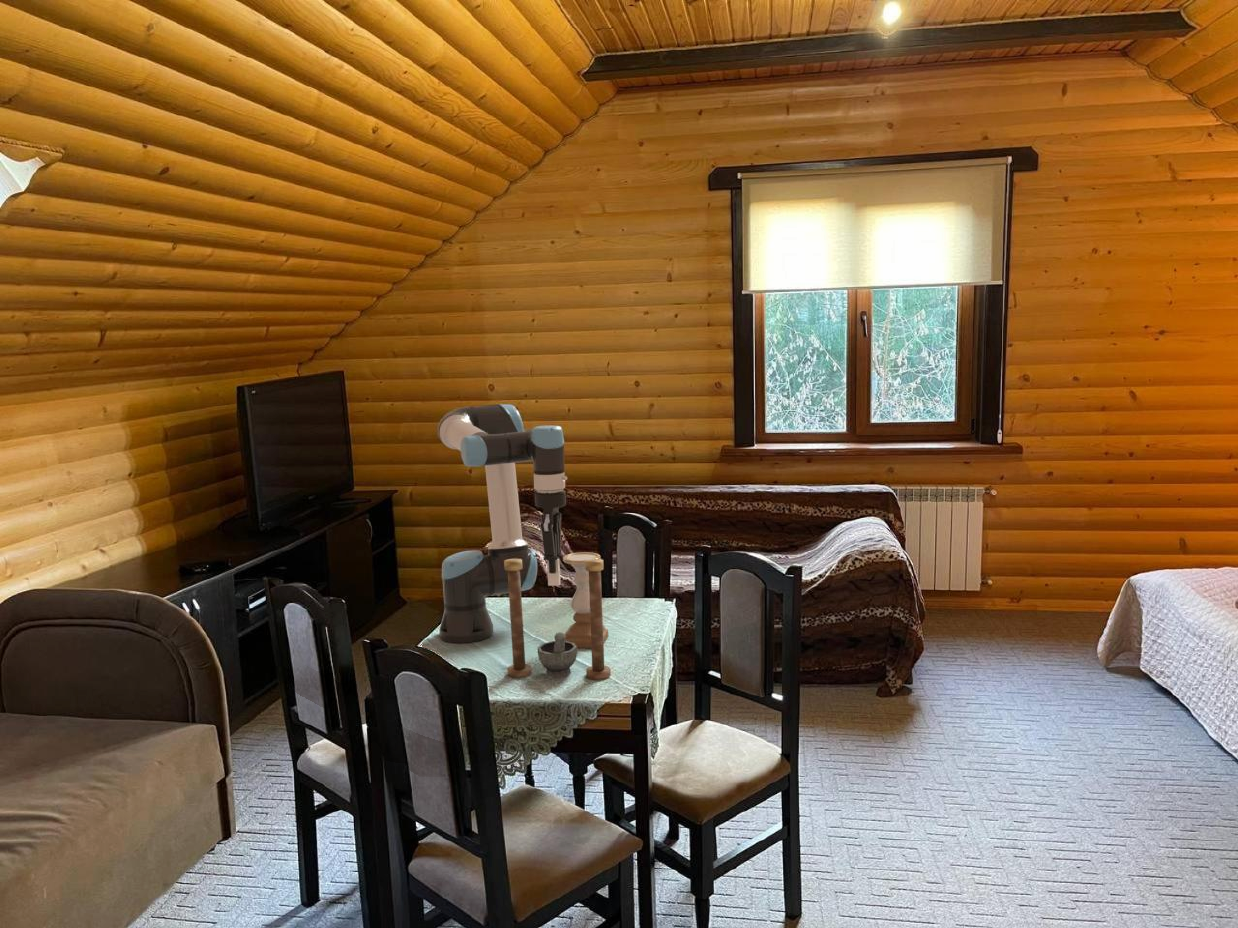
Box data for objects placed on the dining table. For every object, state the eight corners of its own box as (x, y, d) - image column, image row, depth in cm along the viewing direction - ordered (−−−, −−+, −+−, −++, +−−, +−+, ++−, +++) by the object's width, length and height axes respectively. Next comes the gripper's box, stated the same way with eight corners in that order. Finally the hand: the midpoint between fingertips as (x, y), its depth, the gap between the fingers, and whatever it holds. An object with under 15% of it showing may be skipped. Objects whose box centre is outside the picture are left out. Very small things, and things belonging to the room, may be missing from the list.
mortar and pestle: (536, 669, 236) (534, 623, 234) (572, 664, 238) (570, 619, 237) (544, 685, 225) (541, 637, 224) (582, 680, 228) (580, 632, 226)
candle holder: (600, 648, 250) (596, 561, 246) (560, 647, 252) (556, 561, 248) (609, 635, 260) (605, 551, 257) (571, 634, 262) (567, 551, 259)
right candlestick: (584, 679, 228) (579, 563, 224) (588, 670, 234) (584, 557, 230) (608, 680, 227) (604, 564, 223) (612, 671, 233) (608, 557, 229)
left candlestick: (504, 677, 231) (497, 563, 227) (511, 669, 237) (504, 557, 233) (528, 678, 230) (521, 563, 226) (534, 669, 236) (528, 557, 232)
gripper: (559, 495, 218) (563, 592, 222) (570, 485, 231) (574, 577, 235) (528, 495, 219) (533, 592, 223) (541, 485, 232) (545, 577, 236)
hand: (554, 584), depth 229 cm, fingers closed
